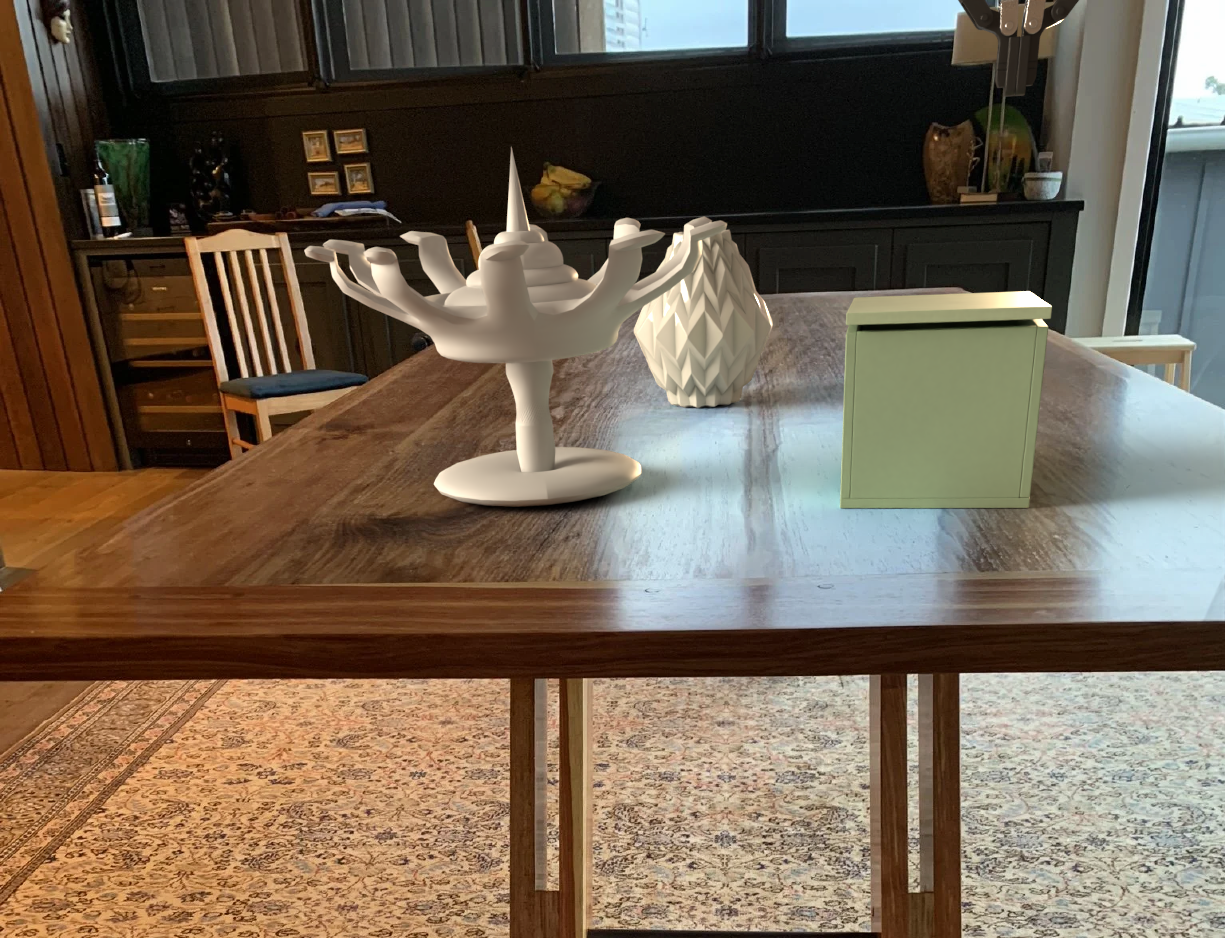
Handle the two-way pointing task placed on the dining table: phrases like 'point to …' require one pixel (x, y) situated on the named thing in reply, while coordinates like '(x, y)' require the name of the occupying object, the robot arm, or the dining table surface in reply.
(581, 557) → the dining table surface
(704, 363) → the vase
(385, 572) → the dining table surface
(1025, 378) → the chest
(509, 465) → the candelabra
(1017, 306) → the lid
